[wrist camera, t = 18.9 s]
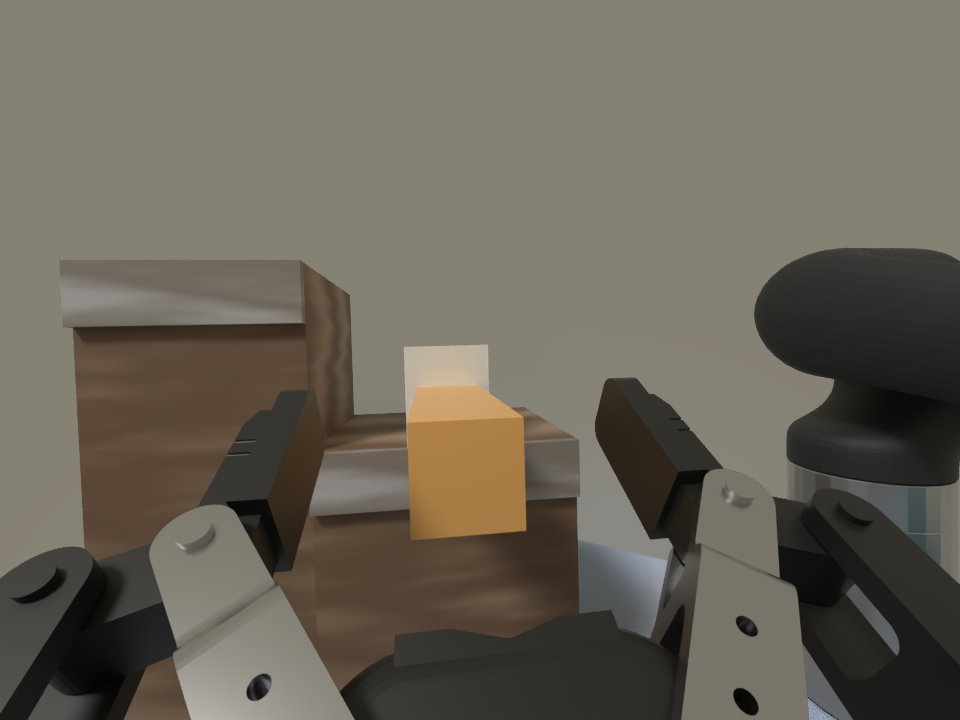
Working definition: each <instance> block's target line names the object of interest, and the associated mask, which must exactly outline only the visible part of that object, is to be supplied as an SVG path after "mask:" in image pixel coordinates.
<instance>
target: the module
mask: <svg viewBox="0 0 960 720" xmlns="http://www.w3.org/2000/svg"><path fill="white" fill-rule="evenodd" d="M404 363H405V395H406V427H407V448H408V470H409V502H410V534H411V540H423V539H435V538H446V537H458V536H470V535H482V534H494V533H506V532H517V531H526V497H525V455H524V417H523V416H521V415H520V414H518V413H517V412H516V411H514V410H513V409H511V408H510V407H508V406H507V405H505V404H504V403H503V402H501V401H500V400H498V399H497V398H495V397H494V396H492V395H491V394H490V393H489V371H488V345H465V346H426V347H404Z"/></svg>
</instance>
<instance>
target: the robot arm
mask: <svg viewBox="0 0 960 720" xmlns="http://www.w3.org/2000/svg"><path fill="white" fill-rule="evenodd" d="M754 318H755V324H756V328H757V331H758V333H759V336H760V338H761V339H762V341H763V342H764V344H765V345H766V347H767V348H768V349H769V350H770V351H771V352H772V353H773V354H774V356H776V357H777V358H778V359H780V360H781V361H782V362H783V363H785V364H786V365H789V366H790V367H792V368H794V369H796V370H798V371H801V372H804V373H807V374H811V375H815V376H820V377H826V378H831V379H834V386H833V389H832V392H831V394H830V395H829V397H828V398H827V399H826V401H825V402H824V403H823V404H822V405H821V406H819V407H818V408H817V409H815V410H814V411H812V412H810V413H809V414H807V415H805V416H803V417H801V418H799V419H798V420H796V421H794V422H793V423H792V424H791V425H790V426H789V428H788V432H787V499H782V498H777V497H772V496H771V495H770V493H769V492H768V491H767V490H766V489H765V488H764V487H763V486H762V485H761V484H759V483H758V482H757V481H755V480H754V479H752V478H750V477H748V476H746V475H744V474H742V473H739V472H736V471H733V470H727V469H723V467H722V466H721V465H720V464H719V463H718V461H717V460H716V459H715V458H714V457H713V455H712V454H711V453H710V452H709V451H708V450H707V448H706V447H705V446H704V445H703V444H702V442H701V441H700V440H699V439H698V438H697V436H696V435H695V434H694V433H693V432H692V431H690V428H689V427H688V426H687V425H686V424H685V422H684V421H683V420H681V417H680V416H679V415H678V414H677V413H676V412H675V410H674V409H673V408H672V407H671V406H670V405H669V404H668V403H666V402H665V401H663V400H662V399H660V398H659V397H657V396H656V395H654V394H649V393H648V392H647V391H646V389H645V388H644V387H643V386H642V384H641V383H640V382H639V381H638V380H637V379H636V378H611V379H610V378H609V379H607V380H606V381H605V384H604V387H603V391H602V395H601V399H600V404H599V408H598V412H597V416H596V420H595V432H596V437H597V440H598V442H599V444H600V446H601V448H602V450H603V452H604V454H605V456H606V457H607V459H608V461H609V463H610V465H611V467H612V469H613V470H614V472H615V474H616V476H617V478H618V480H619V482H620V484H621V486H622V487H623V489H624V491H625V493H626V495H627V497H628V499H629V500H630V502H631V504H632V506H633V508H634V510H635V512H636V514H637V515H638V517H639V519H640V521H641V523H642V525H643V527H644V529H645V530H646V532H647V534H648V536H649V538H650V539H660V538H669V540H670V542H671V543H672V545H673V546H672V548H671V550H670V553H669V558H668V562H667V567H666V572H665V578H664V583H663V588H662V593H661V598H660V603H659V608H658V613H657V618H656V622H655V626H654V629H653V632H652V634H651V637H650V639H648V638H646V637H644V636H642V635H639V634H637V633H634V632H631V631H628V630H625V629H621V628H618V627H617V624H616V621H615V619H614V616H613V613H612V611H611V610H609V611H600V612H591V613H582V614H574V615H565V616H560V617H557V618H555V619H553V620H551V621H548V622H546V623H544V624H541V625H539V626H537V627H535V628H532V629H530V630H528V631H526V632H523V633H521V634H519V635H517V636H514V637H510V638H503V637H497V636H491V635H486V634H480V633H474V632H468V631H462V630H456V629H442V630H434V631H425V632H416V633H407V634H399V635H395V641H394V653H393V654H390V655H388V656H386V657H383V658H382V659H380V660H378V661H376V662H375V663H373V664H371V665H370V666H368V667H367V668H366V669H364V670H363V671H362V672H360V673H359V674H358V675H356V676H355V677H354V678H353V679H352V680H351V681H350V682H349V683H348V684H347V685H345V686H344V687H343V688H342V690H341V691H340V692H339V691H338V689H337V687H336V686H335V684H334V682H333V680H332V678H331V677H330V675H329V673H328V671H327V669H326V668H325V666H324V664H323V662H322V661H321V659H320V657H319V655H318V653H317V652H316V650H315V648H314V646H313V644H312V643H311V641H310V639H309V637H308V636H307V634H306V632H305V630H304V628H303V627H302V625H301V623H300V621H299V620H298V618H297V616H296V614H295V612H294V611H293V609H292V607H291V605H290V603H289V602H288V600H287V598H286V596H285V595H284V593H283V591H282V589H281V588H280V586H279V585H278V584H277V583H276V584H275V583H274V581H273V579H272V578H273V575H274V573H275V572H286V571H292V568H293V564H294V561H295V557H296V554H297V550H298V546H299V543H300V539H301V536H302V532H303V528H304V525H305V521H306V518H307V514H308V510H309V507H310V503H311V500H312V496H313V492H314V489H315V485H316V481H317V478H318V474H319V471H320V467H321V463H322V460H323V456H324V448H325V439H324V431H323V427H322V422H321V417H320V412H319V407H318V403H317V398H316V394H315V392H314V390H313V389H300V390H282V391H281V392H280V393H279V395H278V397H277V399H276V401H275V403H274V405H273V407H272V409H271V410H260V411H259V412H257V413H256V414H255V415H254V416H253V417H252V418H250V419H249V420H248V421H247V422H246V423H245V424H243V426H242V428H241V430H240V432H239V433H238V435H237V437H236V439H235V443H233V444H232V446H231V448H230V450H229V451H228V456H227V457H225V458H224V460H223V462H222V464H221V466H220V467H219V469H218V471H217V473H216V475H215V476H214V478H213V480H212V482H211V484H210V485H209V487H208V489H207V491H206V493H205V494H204V496H203V498H202V500H201V501H200V503H199V505H198V507H197V508H195V509H192V510H190V511H187V512H185V513H183V514H182V515H180V516H178V517H177V518H175V519H174V520H172V521H171V522H170V523H168V524H167V525H166V526H165V527H164V528H163V529H162V530H161V531H160V532H159V533H158V535H157V536H156V537H155V539H154V541H153V542H152V543H150V544H147V545H145V546H142V547H139V548H135V549H132V550H129V551H126V552H123V553H120V554H117V555H114V556H110V557H107V558H104V559H101V560H98V561H96V560H95V559H94V558H93V556H92V555H91V554H90V552H89V551H87V550H86V549H83V548H80V547H63V548H58V549H54V550H51V551H48V552H45V553H43V554H40V555H37V556H35V557H33V558H31V559H29V560H27V561H25V562H24V563H22V564H20V565H19V566H17V567H16V568H14V569H12V570H11V571H9V572H8V573H7V574H5V575H4V576H3V577H2V578H0V720H124V718H125V716H126V713H127V711H128V709H129V706H130V704H131V702H132V699H133V697H134V695H135V693H136V690H137V688H138V686H139V683H140V681H141V679H142V676H143V674H144V672H145V670H146V667H148V666H150V665H152V664H155V663H157V662H159V661H162V660H164V659H167V658H169V657H171V656H173V659H174V664H175V668H176V671H177V675H178V678H179V681H180V685H181V688H182V691H183V695H184V698H185V701H186V705H187V708H188V711H189V715H190V718H191V720H809V711H808V701H807V696H808V697H809V698H810V699H812V700H813V701H814V702H815V703H816V704H818V705H819V706H820V707H821V708H822V709H824V710H825V711H827V712H828V713H830V714H831V715H833V716H834V717H836V718H837V719H839V720H960V584H959V524H958V523H959V480H958V479H959V463H960V261H958V260H957V259H955V258H954V257H952V256H950V255H947V254H945V253H941V252H937V251H933V250H926V249H909V248H908V249H907V248H906V249H904V248H901V249H899V248H896V249H895V248H894V249H893V248H890V249H889V248H841V249H832V250H824V251H820V252H816V253H813V254H809V255H806V256H804V257H802V258H799V259H797V260H795V261H793V262H791V263H789V264H788V265H786V266H785V267H783V268H782V269H780V270H779V271H778V272H777V273H776V274H774V275H773V276H772V277H771V278H770V279H769V280H768V282H767V283H766V284H765V285H764V287H763V288H762V290H761V292H760V294H759V296H758V298H757V301H756V304H755V311H754Z"/></svg>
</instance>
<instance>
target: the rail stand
mask: <svg viewBox="0 0 960 720" xmlns="http://www.w3.org/2000/svg"><path fill="white" fill-rule="evenodd" d="M59 261H60V280H61V300H62V318H63V327H72V328H73V339H74V358H75V377H76V395H77V412H78V432H79V451H80V470H81V489H82V507H83V526H84V545H85V549H86V550H87V551H89V552H90V554H91V555H92V556H93V558H94V559H95V560H96V561H98V560H101V559H104V558H107V557H110V556H114V555H117V554H120V553H123V552H126V551H129V550H132V549H135V548H139V547H142V546H145V545H147V544H150V543H152V542H153V541H154V539H155V537H156V536H157V535H158V533H159V532H160V531H161V530H162V529H163V528H164V527H165V526H166V525H167V524H168V523H170V522H171V521H172V520H174V519H175V518H177V517H178V516H180V515H182V514H183V513H185V512H187V511H190V510H192V509H195V508H197V507H198V505H199V503H200V501H201V500H202V498H203V496H204V494H205V493H206V491H207V489H208V487H209V485H210V484H211V482H212V480H213V478H214V476H215V475H216V473H217V471H218V469H219V467H220V466H221V464H222V462H223V460H224V458H225V457H227V456H228V451H229V450H230V448H231V446H232V444H233V443H235V439H236V437H237V435H238V433H239V432H240V430H241V428H242V426H243V424H245V423H246V422H247V421H248V420H249V419H250V418H252V417H253V416H254V415H255V414H256V413H257V412H259V411H260V410H271V409H272V407H273V405H274V403H275V401H276V399H277V397H278V395H279V393H280V392H281V391H282V390H300V389H313V390H314V392H315V394H316V398H317V403H318V407H319V412H320V417H321V422H322V427H323V431H324V439H325V448H324V456H323V460H322V463H321V467H320V471H319V474H318V478H317V481H316V485H315V489H314V492H313V496H312V500H311V503H310V507H309V510H308V514H307V518H306V521H305V525H304V528H303V532H302V536H301V539H300V543H299V546H298V550H297V554H296V557H295V561H294V564H293V568H292V571H286V572H275V573H274V575H273V578H272V579H273V581H274V583H275V584H276V583H277V584H278V585H279V586H280V588H281V589H282V591H283V593H284V595H285V596H286V598H287V600H288V602H289V603H290V605H291V607H292V609H293V611H294V612H295V614H296V616H297V618H298V620H299V621H300V623H301V625H302V627H303V628H304V630H305V632H306V634H307V636H308V637H309V639H310V641H311V643H312V644H313V646H314V648H315V650H316V652H317V653H318V655H319V657H320V659H321V661H322V662H323V664H324V666H325V668H326V669H327V671H328V673H329V675H330V677H331V678H332V680H333V682H334V684H335V686H336V687H337V689H338V691H339V692H340V691H341V690H342V688H343V687H344V686H345V685H347V684H348V683H349V682H350V681H351V680H352V679H353V678H354V677H355V676H356V675H358V674H359V673H360V672H362V671H363V670H364V669H366V668H367V667H368V666H370V665H371V664H373V663H375V662H376V661H378V660H380V659H382V658H383V657H386V656H388V655H390V654H393V653H394V641H395V635H399V634H407V633H416V632H425V631H434V630H442V629H456V630H462V631H468V632H474V633H480V634H486V635H491V636H497V637H503V638H510V637H514V636H517V635H519V634H521V633H523V632H526V631H528V630H530V629H532V628H535V627H537V626H539V625H541V624H544V623H546V622H548V621H551V620H553V619H555V618H557V617H560V616H565V615H574V614H579V588H578V539H577V497H579V496H580V472H579V470H580V469H579V440H578V439H576V438H574V437H573V436H571V435H569V434H568V433H566V432H564V431H563V430H561V429H559V428H558V427H556V426H554V425H553V424H551V423H549V422H548V421H546V420H544V419H543V418H541V417H539V416H537V415H536V414H534V413H533V412H531V411H529V410H528V409H526V408H524V407H520V408H511V409H513V410H514V411H516V412H517V413H518V414H520V415H521V416H523V417H524V455H525V497H526V531H517V532H506V533H494V534H482V535H470V536H458V537H446V538H435V539H423V540H411V534H410V502H409V470H408V448H407V427H406V413H387V414H365V415H354V403H353V373H352V345H351V317H350V295H349V294H347V293H346V292H345V291H343V290H342V289H340V288H339V287H337V286H336V285H334V284H333V283H332V282H330V281H329V280H327V279H326V278H325V277H323V276H322V275H320V274H319V273H317V272H316V271H315V270H313V269H312V268H310V267H309V266H307V265H306V264H305V263H303V262H302V261H300V260H59ZM124 720H191V718H190V715H189V711H188V708H187V705H186V701H185V698H184V695H183V691H182V688H181V685H180V681H179V678H178V675H177V671H176V668H175V664H174V659H173V656H171V657H169V658H167V659H164V660H162V661H159V662H157V663H155V664H152V665H150V666H148V667H146V670H145V672H144V674H143V676H142V679H141V681H140V683H139V686H138V688H137V690H136V693H135V695H134V697H133V699H132V702H131V704H130V706H129V709H128V711H127V713H126V716H125V718H124Z"/></svg>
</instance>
